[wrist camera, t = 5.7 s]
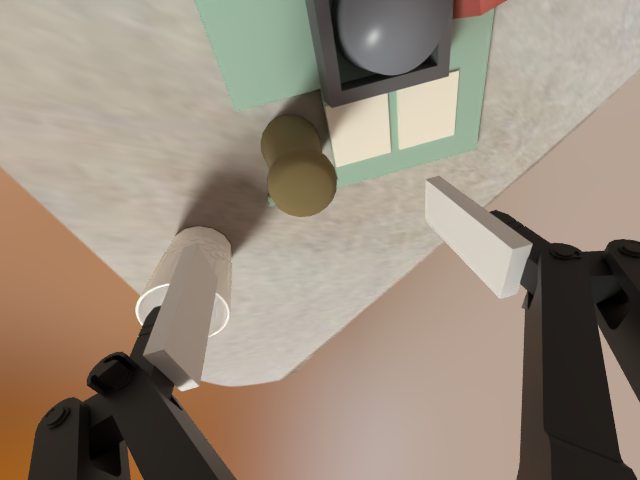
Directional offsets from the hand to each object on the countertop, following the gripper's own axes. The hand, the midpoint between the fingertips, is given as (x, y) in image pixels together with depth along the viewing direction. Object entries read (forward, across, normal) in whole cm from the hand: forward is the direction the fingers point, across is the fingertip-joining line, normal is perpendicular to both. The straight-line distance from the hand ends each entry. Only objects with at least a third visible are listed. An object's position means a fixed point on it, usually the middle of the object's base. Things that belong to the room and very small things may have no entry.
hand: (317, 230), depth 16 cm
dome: (+14, +9, +9) cm, 19 cm away
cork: (+16, 0, 0) cm, 16 cm away
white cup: (+16, -14, -9) cm, 23 cm away
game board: (+16, +8, +4) cm, 18 cm away
